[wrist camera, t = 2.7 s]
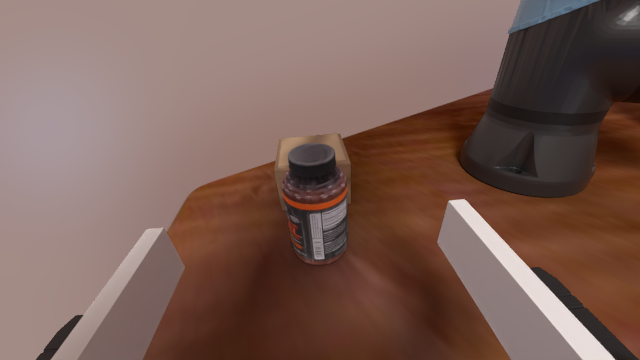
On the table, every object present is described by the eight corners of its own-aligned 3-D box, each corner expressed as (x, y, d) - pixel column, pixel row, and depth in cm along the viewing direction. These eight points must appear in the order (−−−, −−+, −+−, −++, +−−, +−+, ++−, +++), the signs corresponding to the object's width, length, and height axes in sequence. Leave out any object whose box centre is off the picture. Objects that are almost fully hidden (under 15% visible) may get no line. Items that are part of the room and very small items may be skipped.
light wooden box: (340, 168, 40) (339, 131, 37) (350, 203, 33) (350, 161, 29) (285, 174, 40) (278, 137, 36) (282, 210, 32) (273, 168, 29)
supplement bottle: (284, 238, 28) (266, 147, 22) (330, 219, 30) (325, 131, 24) (306, 278, 24) (290, 178, 17) (359, 253, 26) (361, 155, 20)
